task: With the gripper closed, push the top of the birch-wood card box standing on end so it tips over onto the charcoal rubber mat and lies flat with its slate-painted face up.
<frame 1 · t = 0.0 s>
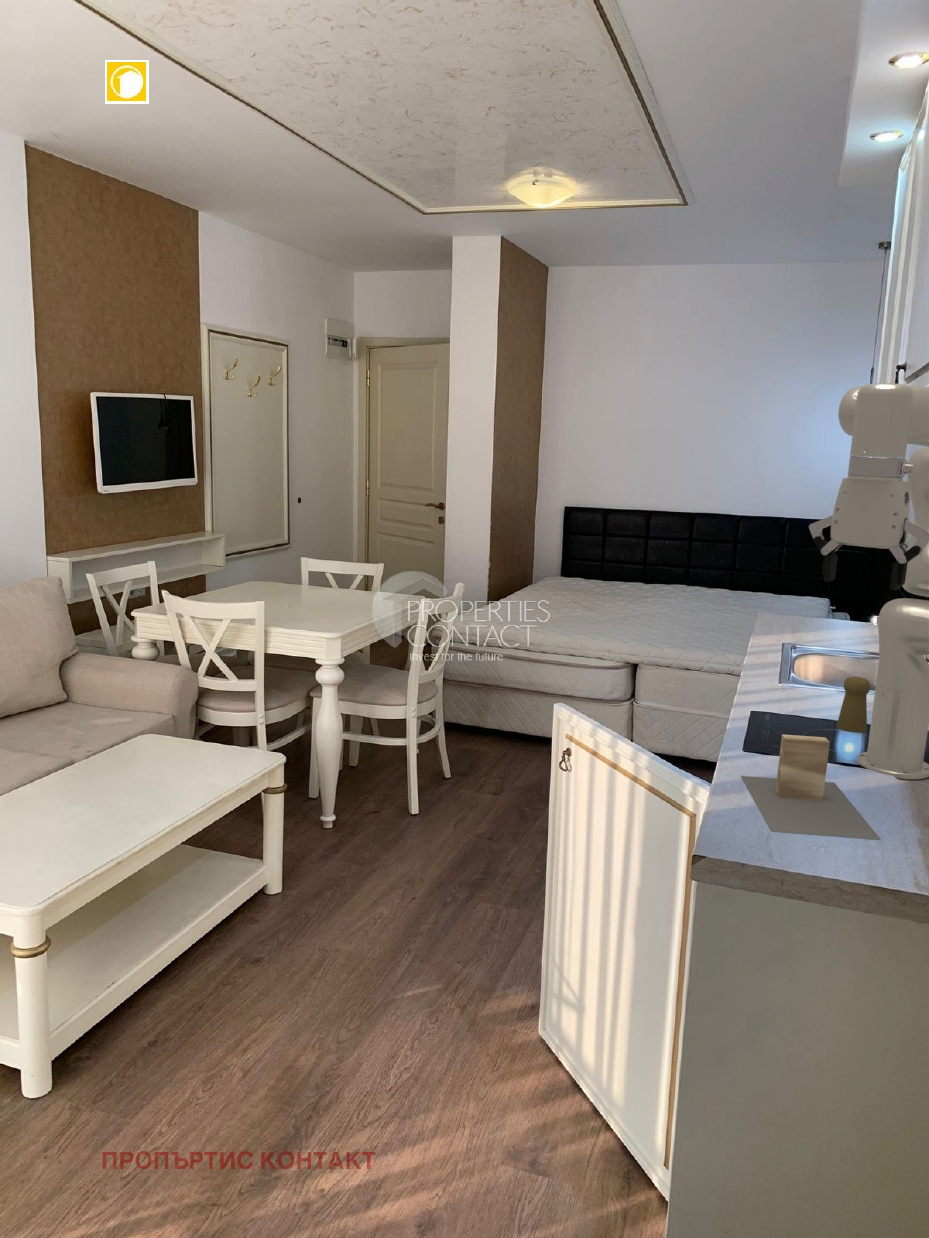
hand: (861, 584, 141), 37 cm above the countertop, tool pointing down, fingers open, 9 cm apart
olive brown pepper mill: (851, 729, 197), on the countertop
mat: (804, 808, 151), on the countertop
card box: (798, 796, 155), point 1 cm above the countertop, touching mat
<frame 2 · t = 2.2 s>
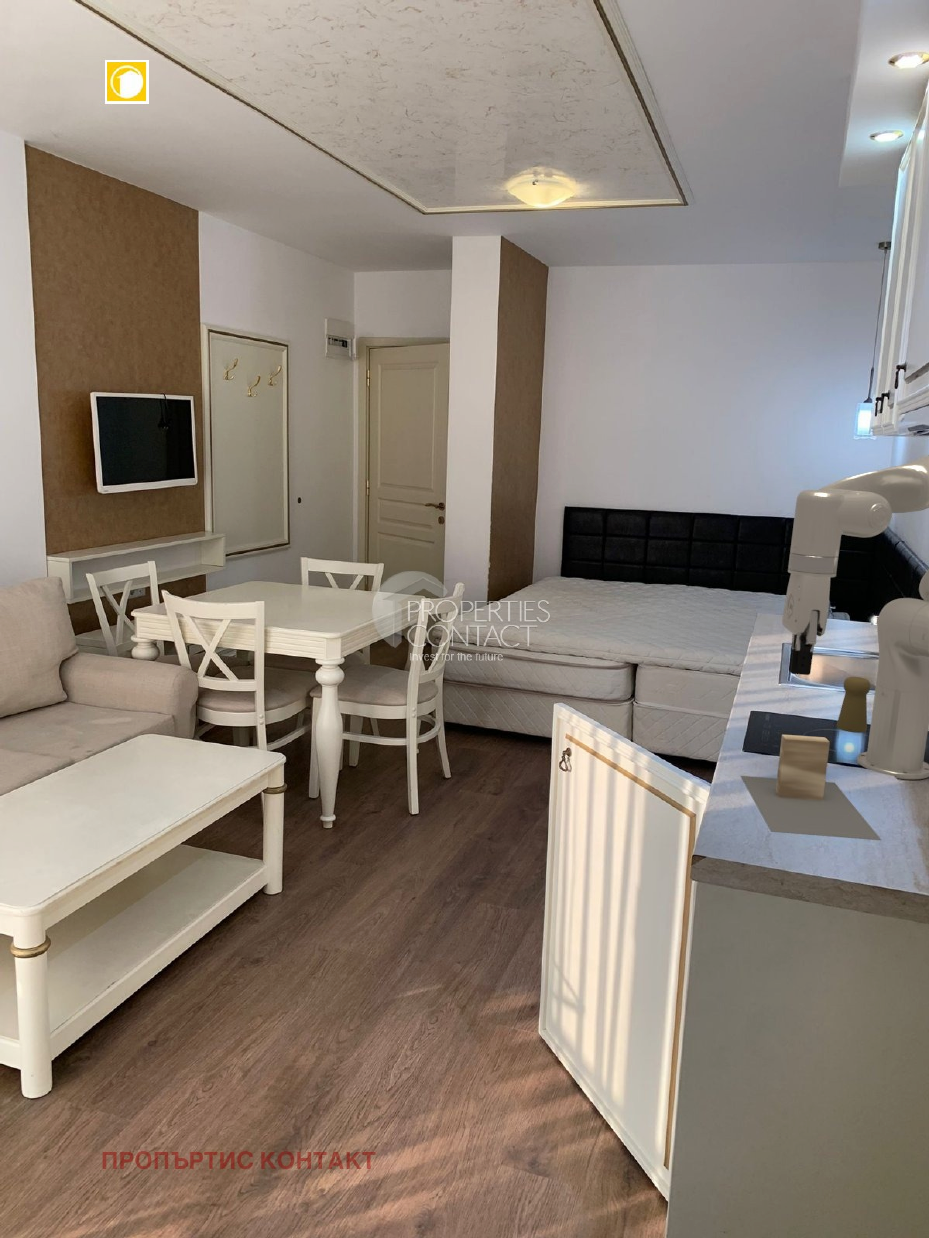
hand: (799, 673, 158), 20 cm above the countertop, tool pointing down, fingers closed
nothing on the countertop moved.
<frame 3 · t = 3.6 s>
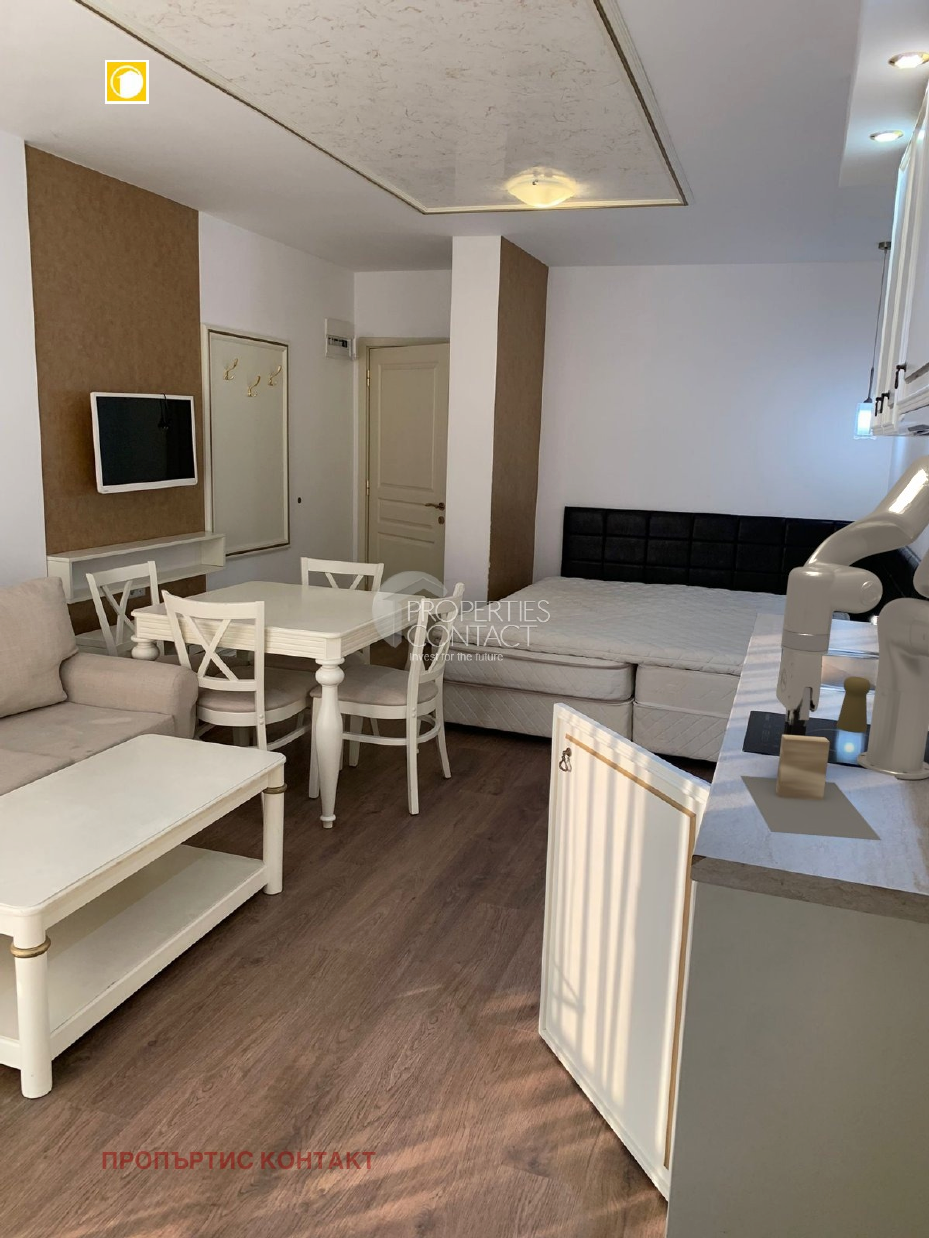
hand: (793, 745, 160), 7 cm above the countertop, tool pointing down, fingers closed
nothing on the countertop moved.
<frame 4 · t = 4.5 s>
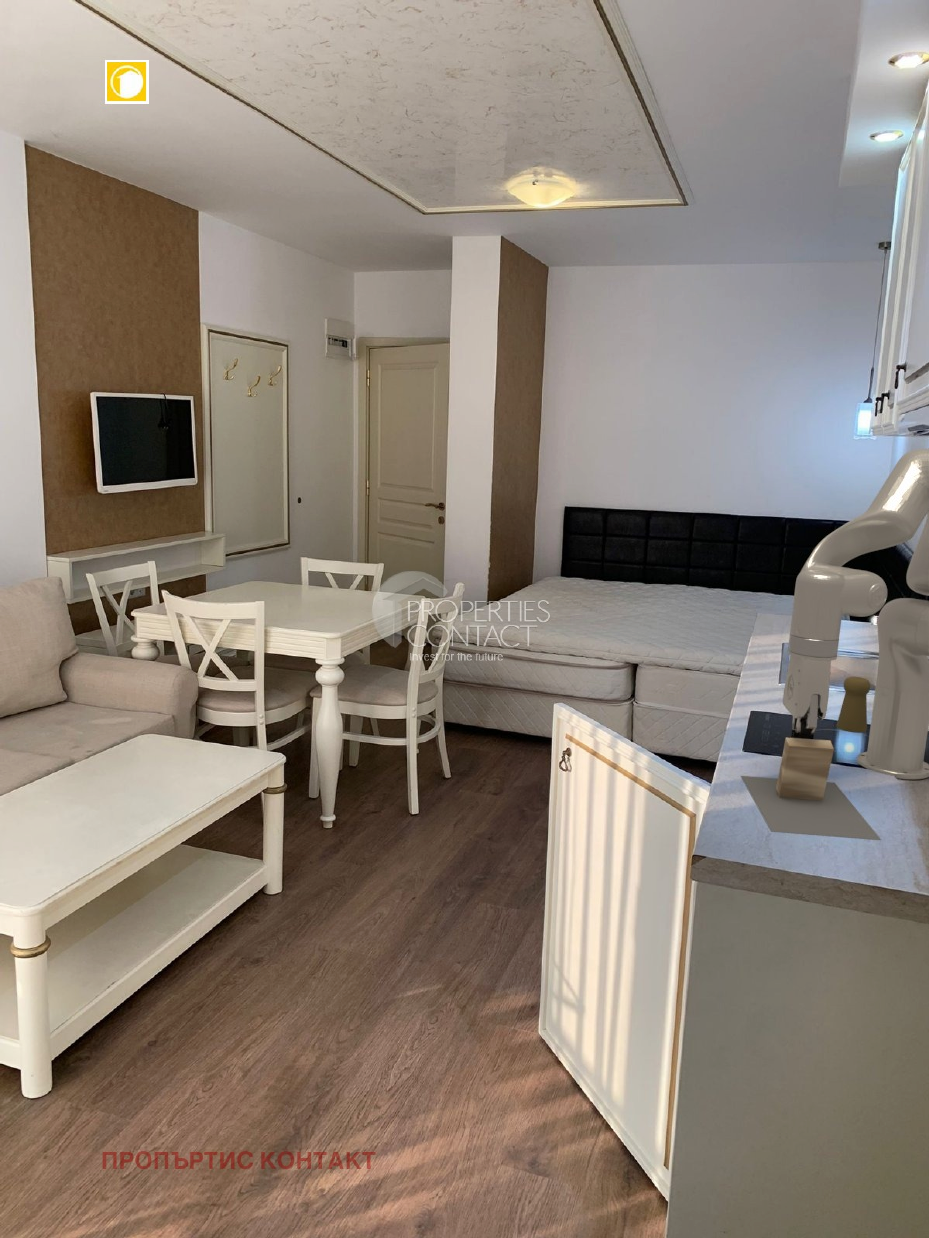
hand: (800, 754, 155), 7 cm above the countertop, tool pointing down, fingers closed
card box: (799, 794, 155), point 1 cm above the countertop, tilted 14°, touching gripper, mat
everything else where it was.
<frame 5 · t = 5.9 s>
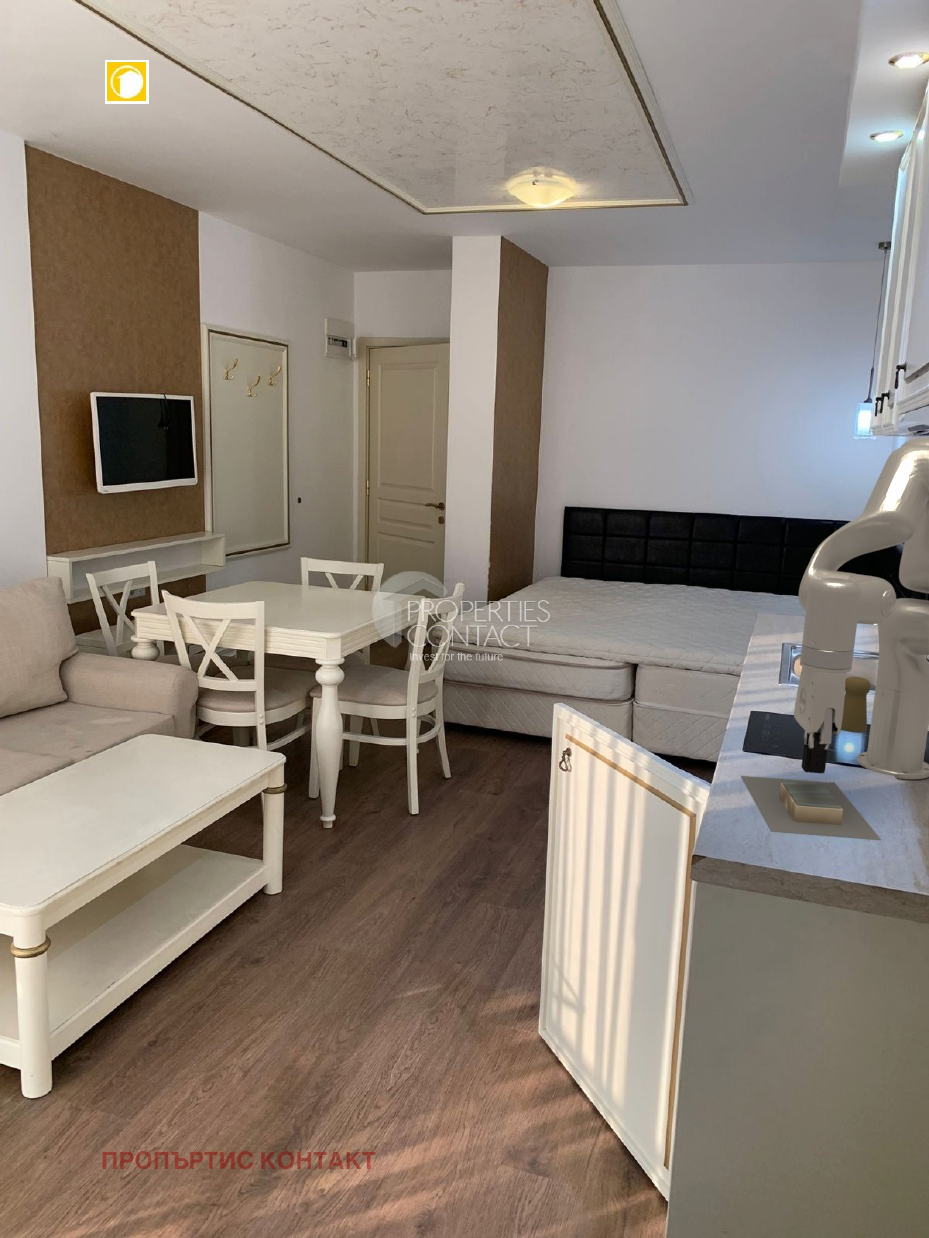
hand: (812, 770, 148), 7 cm above the countertop, tool pointing down, fingers closed
card box: (801, 791, 153), point 2 cm above the countertop, tilted 90°, touching mat
everything else where it was.
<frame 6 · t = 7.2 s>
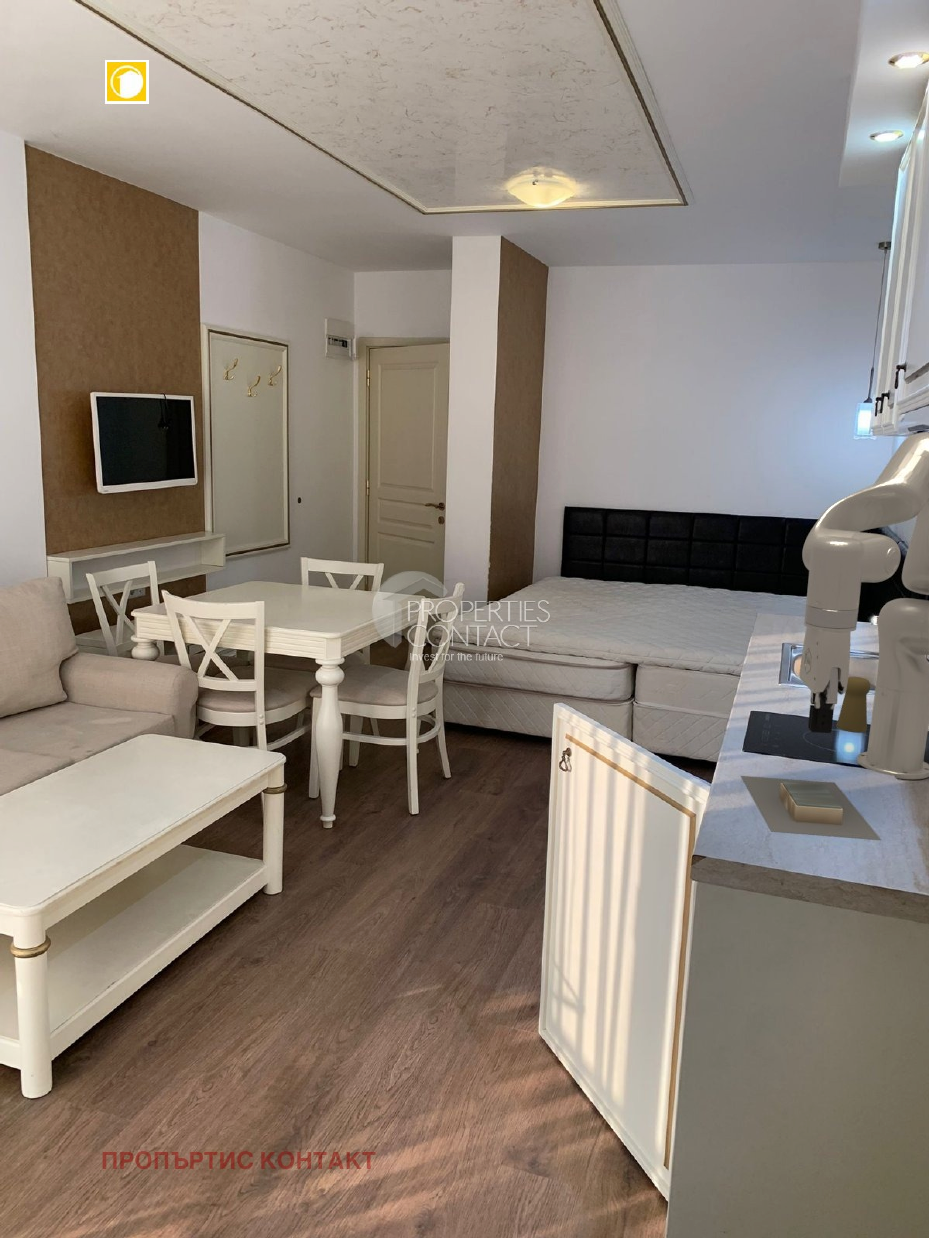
hand: (819, 730, 148), 13 cm above the countertop, tool pointing down, fingers closed
nothing on the countertop moved.
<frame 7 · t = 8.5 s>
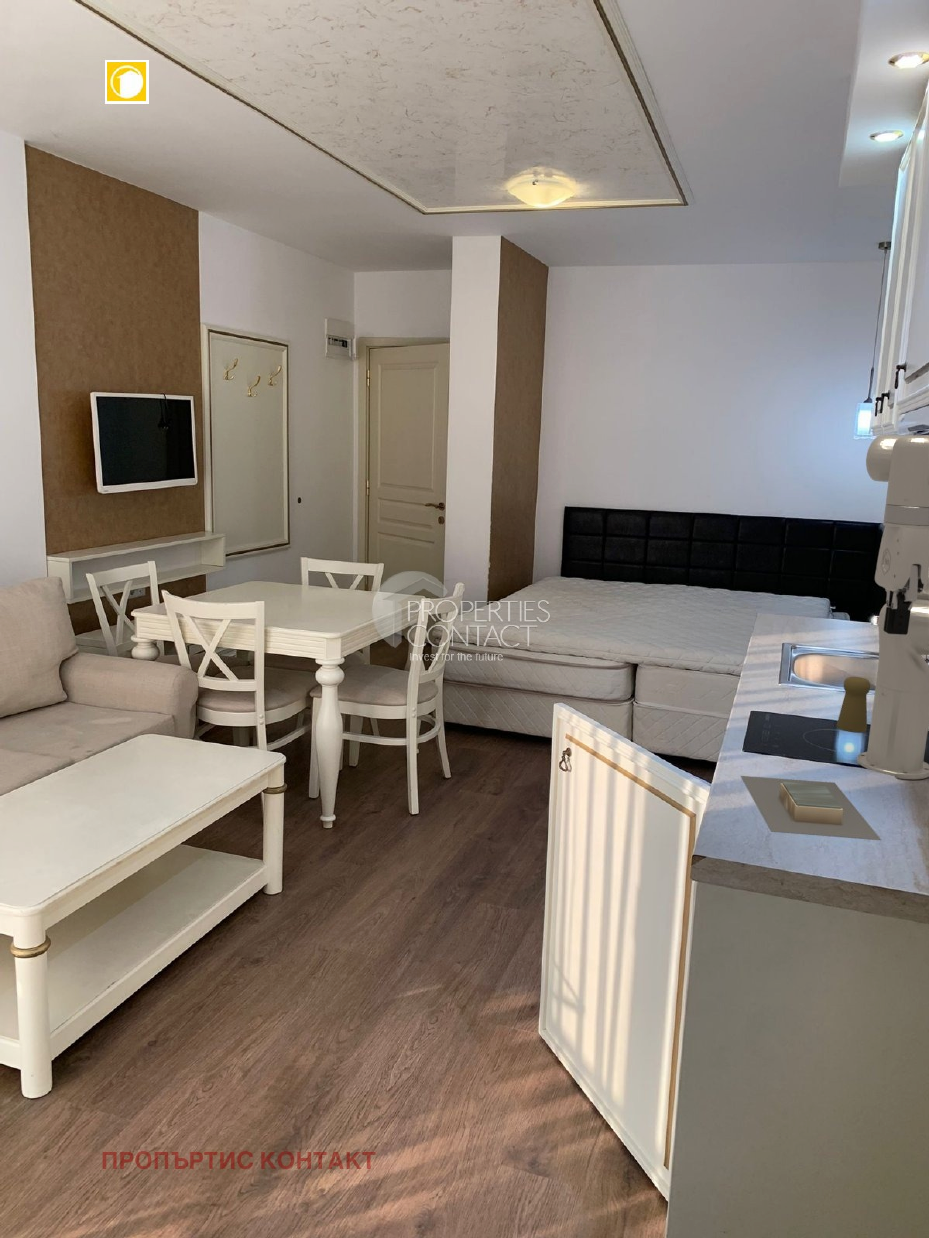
hand: (895, 632, 149), 29 cm above the countertop, tool pointing down, fingers closed
nothing on the countertop moved.
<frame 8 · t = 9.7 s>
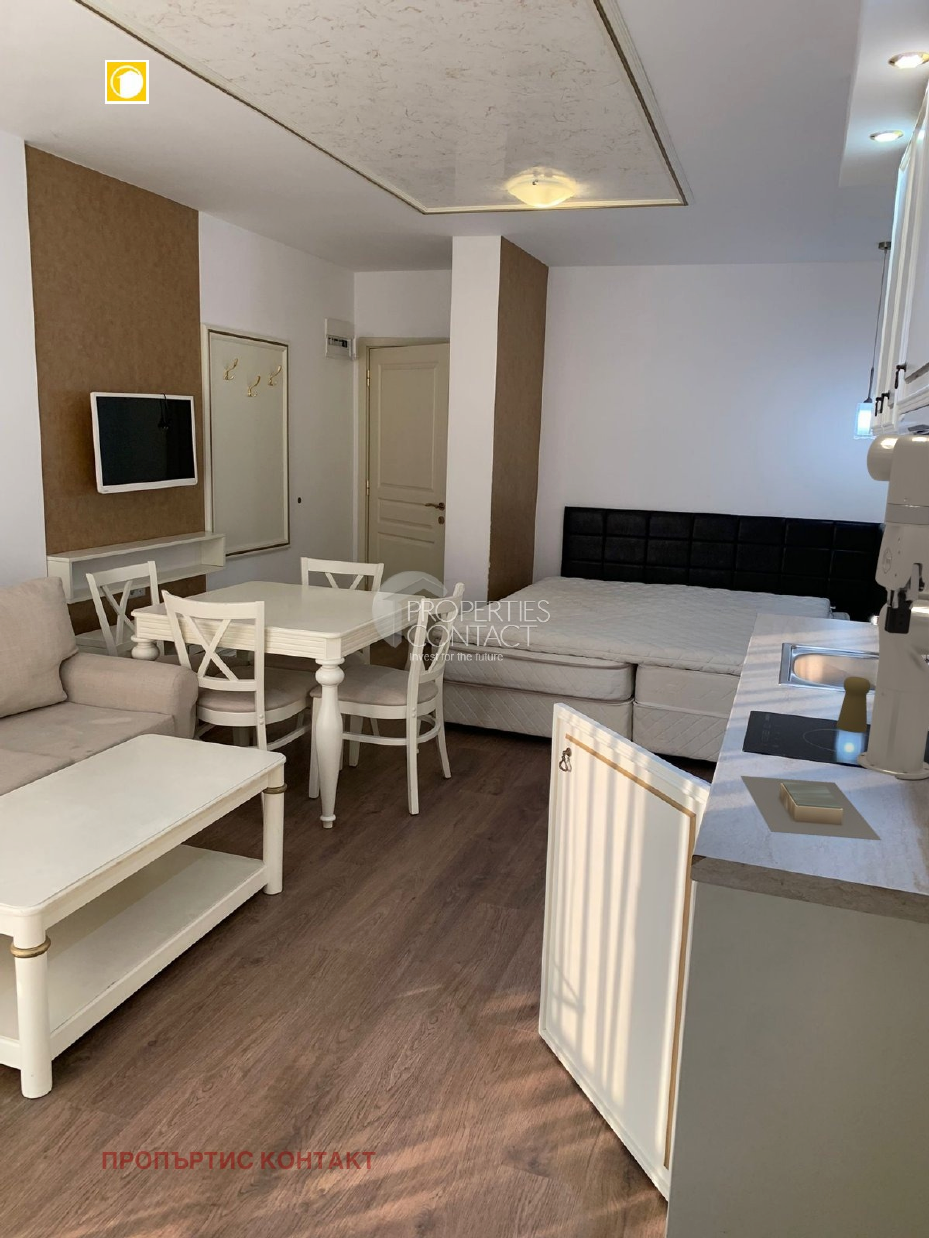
hand: (896, 632, 148), 29 cm above the countertop, tool pointing down, fingers closed
nothing on the countertop moved.
at the end: card box tilted 90°; card box inside the target area (3.6 cm from its centre), point 1.8 cm above the countertop; card box touching mat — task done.
